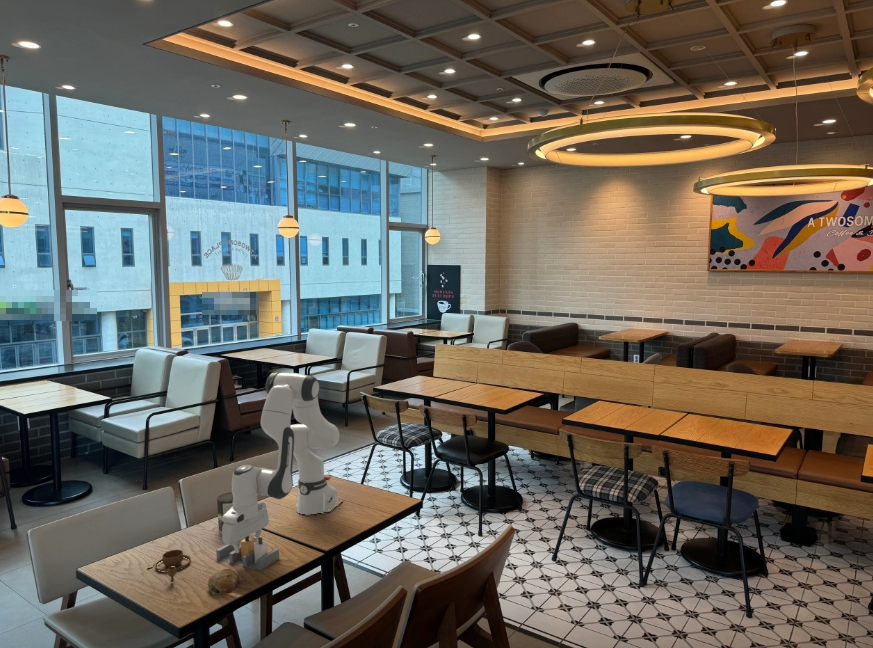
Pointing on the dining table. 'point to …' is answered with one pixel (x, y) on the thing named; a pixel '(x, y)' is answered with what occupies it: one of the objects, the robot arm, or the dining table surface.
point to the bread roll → (223, 581)
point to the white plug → (260, 549)
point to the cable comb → (246, 557)
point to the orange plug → (246, 546)
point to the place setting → (173, 561)
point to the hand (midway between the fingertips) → (247, 546)
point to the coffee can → (224, 507)
